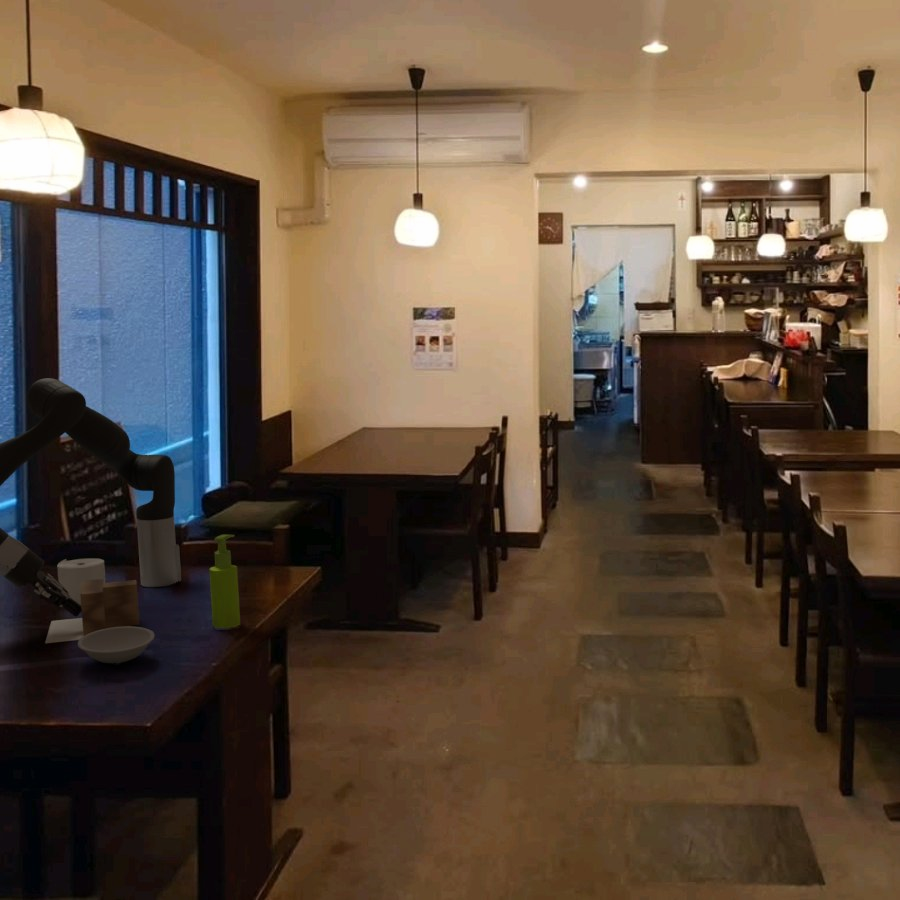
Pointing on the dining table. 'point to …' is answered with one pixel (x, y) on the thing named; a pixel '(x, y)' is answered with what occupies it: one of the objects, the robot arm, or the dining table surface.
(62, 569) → the toilet tissue
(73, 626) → the board
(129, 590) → the t block
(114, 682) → the dining table surface
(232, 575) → the soap dispenser
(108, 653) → the dish
